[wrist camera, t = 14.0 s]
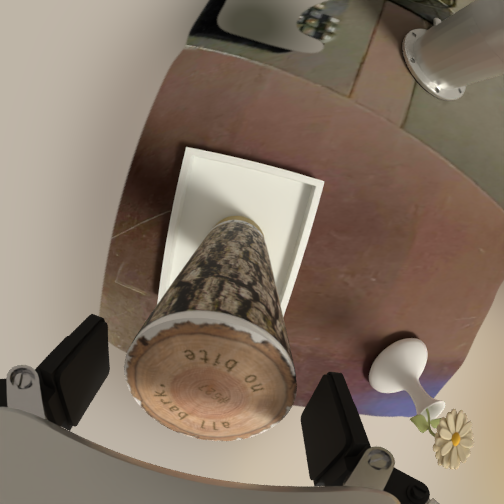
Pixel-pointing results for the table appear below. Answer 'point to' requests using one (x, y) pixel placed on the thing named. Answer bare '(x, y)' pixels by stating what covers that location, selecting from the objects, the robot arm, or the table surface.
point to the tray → (241, 212)
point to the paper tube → (217, 343)
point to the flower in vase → (422, 400)
